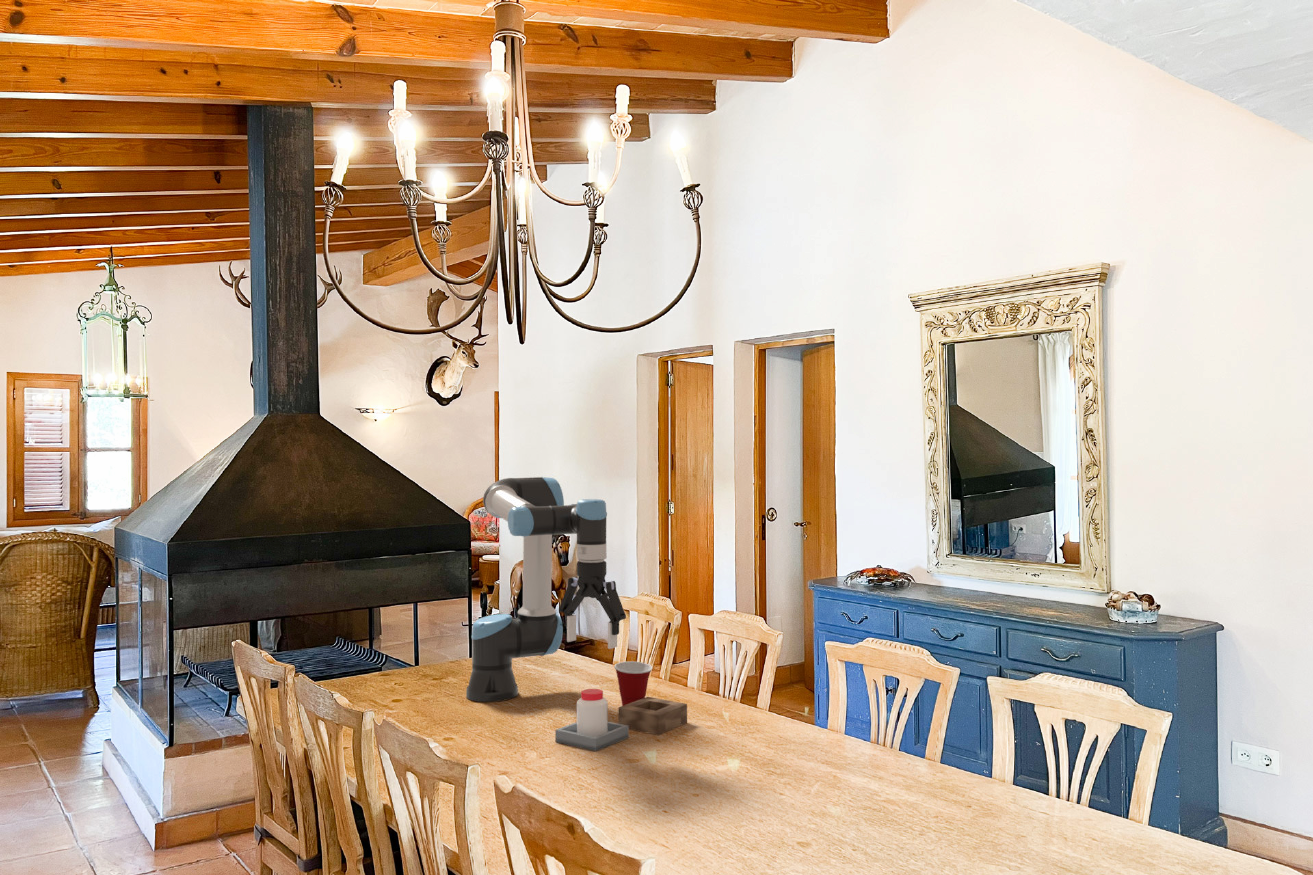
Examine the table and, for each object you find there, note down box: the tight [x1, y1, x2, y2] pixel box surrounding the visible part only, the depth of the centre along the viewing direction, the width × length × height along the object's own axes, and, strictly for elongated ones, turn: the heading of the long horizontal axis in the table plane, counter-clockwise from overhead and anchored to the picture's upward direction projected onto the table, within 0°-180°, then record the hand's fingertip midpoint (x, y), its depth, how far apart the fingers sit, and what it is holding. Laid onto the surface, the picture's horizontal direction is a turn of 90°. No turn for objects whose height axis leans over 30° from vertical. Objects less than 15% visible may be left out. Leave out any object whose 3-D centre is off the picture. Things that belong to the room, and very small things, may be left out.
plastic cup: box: [613, 660, 653, 706], centre depth 260 cm, size 11×11×12 cm
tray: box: [554, 721, 630, 752], centre depth 231 cm, size 13×13×3 cm
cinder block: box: [617, 696, 688, 736], centre depth 244 cm, size 13×13×5 cm
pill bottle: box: [576, 688, 609, 737], centre depth 232 cm, size 8×8×11 cm
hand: (591, 644), depth 234 cm, fingers open, 13 cm apart
